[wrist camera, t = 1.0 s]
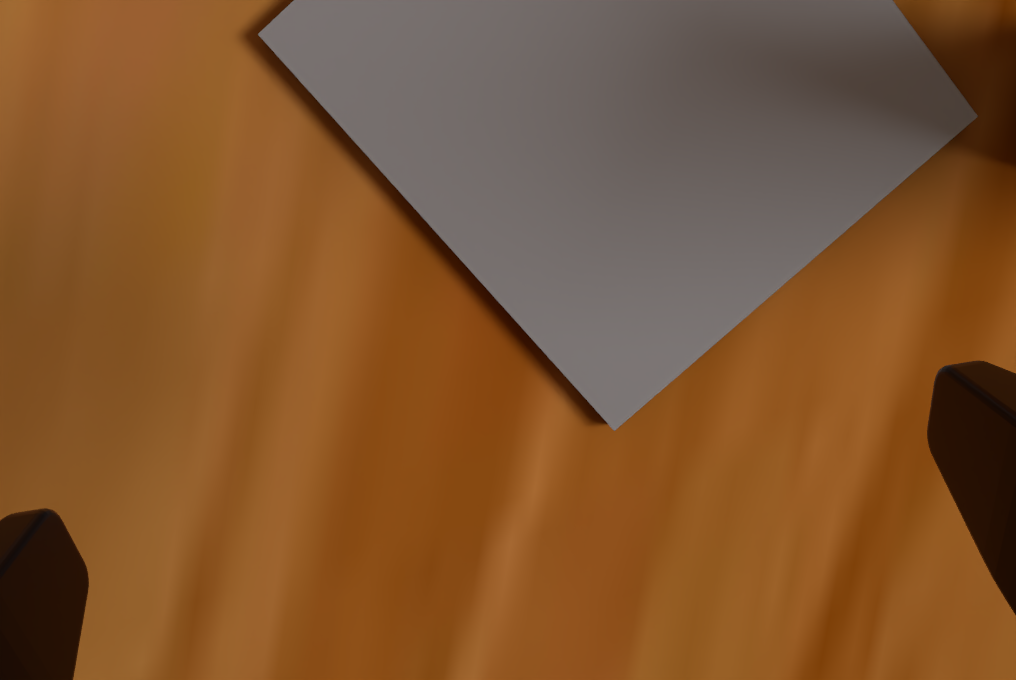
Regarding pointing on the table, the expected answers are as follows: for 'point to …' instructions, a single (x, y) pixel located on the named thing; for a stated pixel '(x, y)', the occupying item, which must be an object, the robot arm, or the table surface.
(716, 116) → the mat
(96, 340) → the table surface
